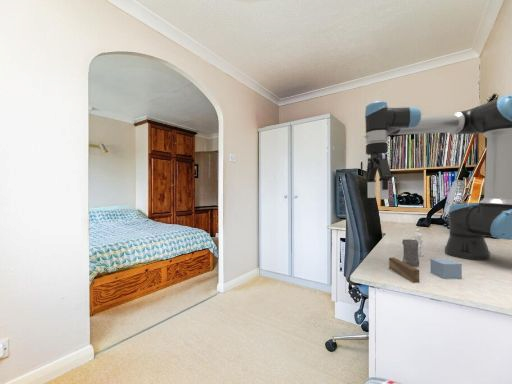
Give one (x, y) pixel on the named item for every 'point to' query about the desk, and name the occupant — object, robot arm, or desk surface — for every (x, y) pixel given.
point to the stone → (410, 252)
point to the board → (404, 269)
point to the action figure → (419, 239)
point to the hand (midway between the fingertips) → (377, 198)
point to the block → (446, 268)
